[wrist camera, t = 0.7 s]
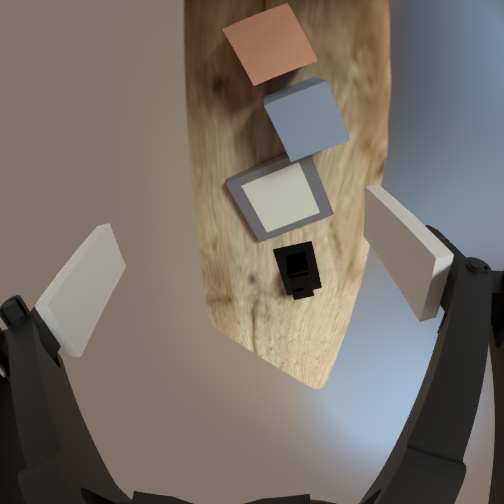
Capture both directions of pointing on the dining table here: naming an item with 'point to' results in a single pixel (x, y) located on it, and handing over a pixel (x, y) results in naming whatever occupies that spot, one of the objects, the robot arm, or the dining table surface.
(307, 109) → the blue block
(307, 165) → the blueprint board
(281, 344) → the dining table surface
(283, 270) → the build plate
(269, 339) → the dining table surface
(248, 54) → the terracotta block
